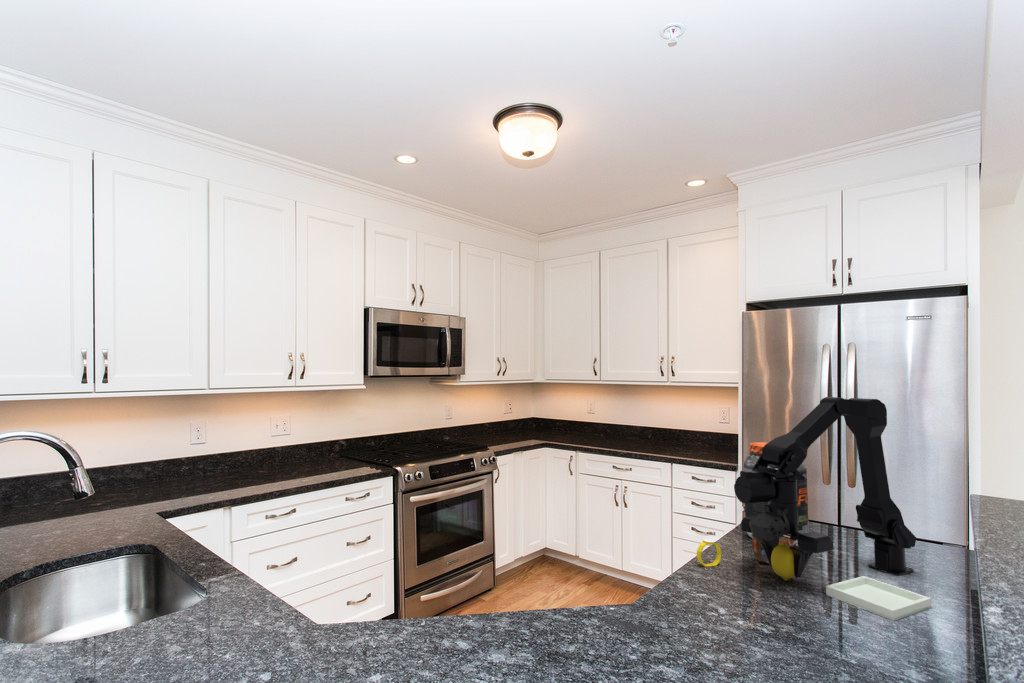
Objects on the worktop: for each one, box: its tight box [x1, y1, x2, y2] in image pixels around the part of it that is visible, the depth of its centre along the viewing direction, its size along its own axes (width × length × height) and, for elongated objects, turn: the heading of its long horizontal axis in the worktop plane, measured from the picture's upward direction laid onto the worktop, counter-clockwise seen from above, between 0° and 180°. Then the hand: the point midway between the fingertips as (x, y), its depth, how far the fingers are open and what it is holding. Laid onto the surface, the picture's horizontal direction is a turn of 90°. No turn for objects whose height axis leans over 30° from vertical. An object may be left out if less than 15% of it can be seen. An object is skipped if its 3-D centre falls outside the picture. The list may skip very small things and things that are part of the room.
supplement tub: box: [743, 441, 810, 539], centre depth 144 cm, size 16×16×26 cm
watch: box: [696, 538, 723, 568], centre depth 123 cm, size 6×3×6 cm, turn 105°
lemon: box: [771, 543, 796, 582], centre depth 114 cm, size 6×6×8 cm
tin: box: [751, 534, 796, 565], centre depth 127 cm, size 15×3×8 cm, turn 117°
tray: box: [825, 575, 933, 622], centre depth 103 cm, size 13×13×2 cm
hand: (785, 572), depth 114 cm, fingers closed on lemon, 5 cm apart
